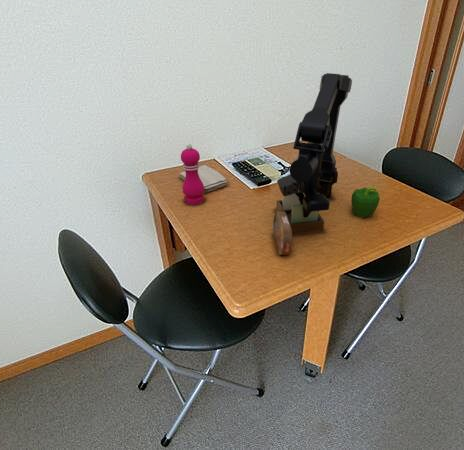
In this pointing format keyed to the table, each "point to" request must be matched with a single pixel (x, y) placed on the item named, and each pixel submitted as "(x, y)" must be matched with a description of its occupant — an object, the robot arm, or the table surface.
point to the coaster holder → (302, 226)
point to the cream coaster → (290, 201)
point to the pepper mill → (192, 176)
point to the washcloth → (209, 178)
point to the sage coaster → (298, 214)
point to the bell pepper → (365, 202)
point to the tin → (282, 232)
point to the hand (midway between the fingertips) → (304, 216)
